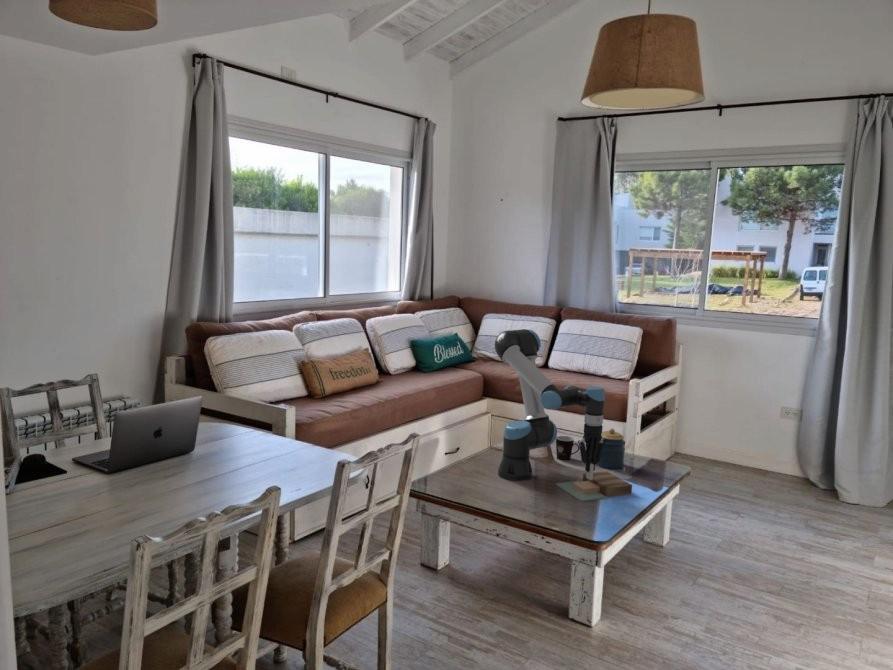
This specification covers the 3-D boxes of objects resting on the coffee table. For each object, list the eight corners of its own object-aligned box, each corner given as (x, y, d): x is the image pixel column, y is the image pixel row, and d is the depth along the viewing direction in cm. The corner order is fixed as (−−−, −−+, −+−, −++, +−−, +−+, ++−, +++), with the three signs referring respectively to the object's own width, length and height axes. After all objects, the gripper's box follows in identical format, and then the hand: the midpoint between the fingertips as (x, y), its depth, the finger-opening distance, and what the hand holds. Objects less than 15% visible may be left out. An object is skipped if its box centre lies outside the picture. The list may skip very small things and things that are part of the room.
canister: (591, 466, 321) (594, 429, 318) (599, 459, 332) (602, 423, 330) (619, 471, 315) (622, 434, 312) (626, 464, 326) (629, 427, 324)
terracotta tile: (572, 487, 290) (572, 482, 290) (588, 485, 293) (588, 480, 293) (583, 493, 282) (583, 489, 282) (599, 491, 286) (599, 487, 285)
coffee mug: (550, 456, 332) (552, 436, 331) (565, 455, 336) (567, 435, 335) (564, 464, 322) (566, 443, 321) (579, 462, 326) (581, 441, 324)
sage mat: (555, 484, 294) (555, 483, 294) (579, 481, 298) (579, 480, 298) (581, 501, 275) (581, 500, 275) (606, 498, 280) (606, 496, 280)
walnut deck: (582, 482, 298) (583, 473, 297) (605, 479, 302) (606, 471, 302) (607, 497, 281) (607, 487, 281) (631, 494, 286) (632, 485, 285)
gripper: (585, 427, 279) (581, 483, 282) (611, 425, 284) (607, 480, 287) (575, 422, 286) (571, 477, 289) (601, 420, 291) (597, 474, 294)
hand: (589, 478), depth 288 cm, fingers closed
